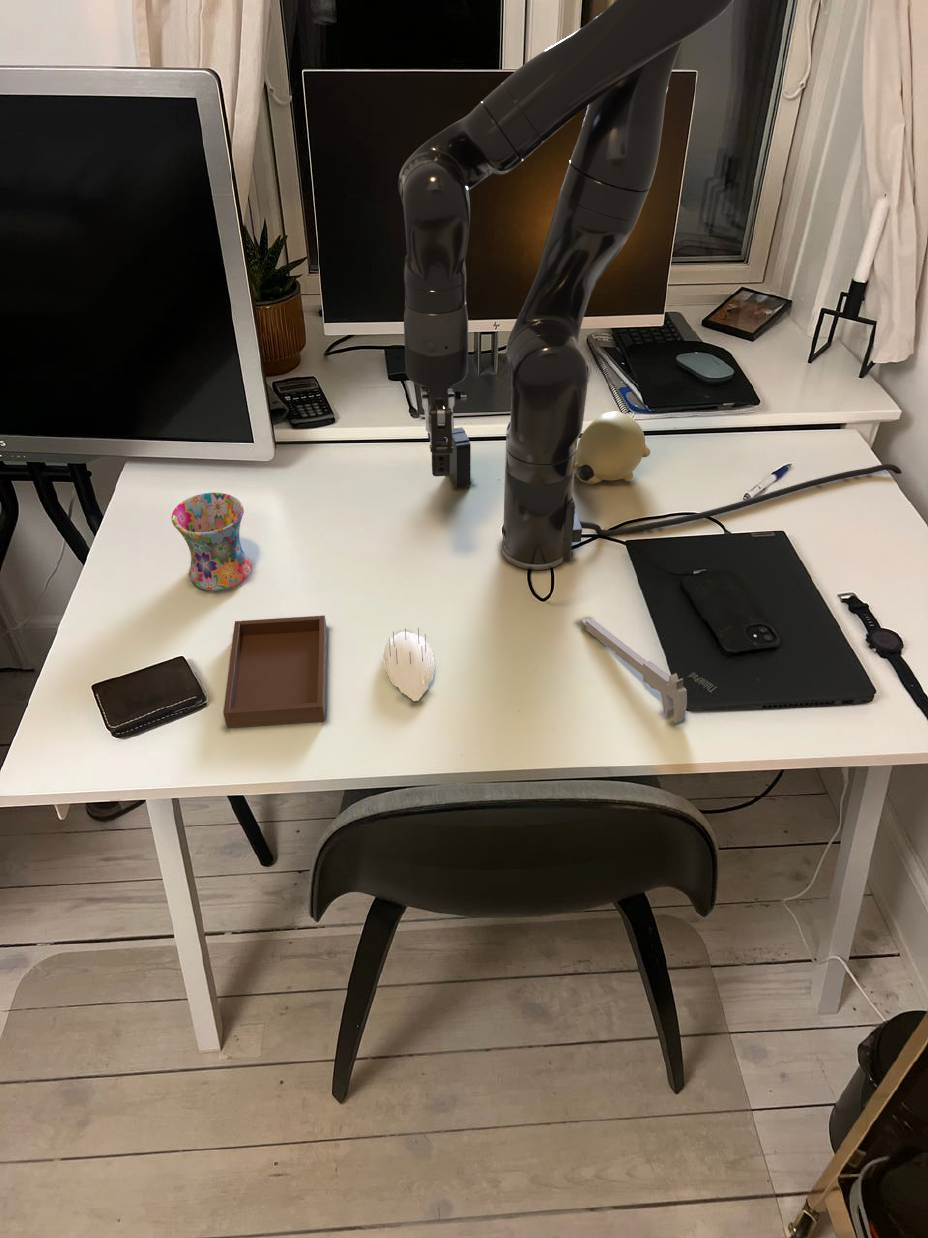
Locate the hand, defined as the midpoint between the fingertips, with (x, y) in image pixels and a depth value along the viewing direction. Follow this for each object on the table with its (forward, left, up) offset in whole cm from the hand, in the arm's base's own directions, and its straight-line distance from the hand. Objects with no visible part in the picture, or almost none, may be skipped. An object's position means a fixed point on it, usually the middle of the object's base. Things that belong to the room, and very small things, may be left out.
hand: (438, 456), depth 124 cm
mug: (+30, -1, -17) cm, 35 cm away
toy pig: (-28, -19, -17) cm, 38 cm away
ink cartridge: (-5, -20, -17) cm, 27 cm away
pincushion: (+5, +21, -17) cm, 28 cm away
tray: (+21, +21, -17) cm, 35 cm away
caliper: (-22, +24, -17) cm, 37 cm away
